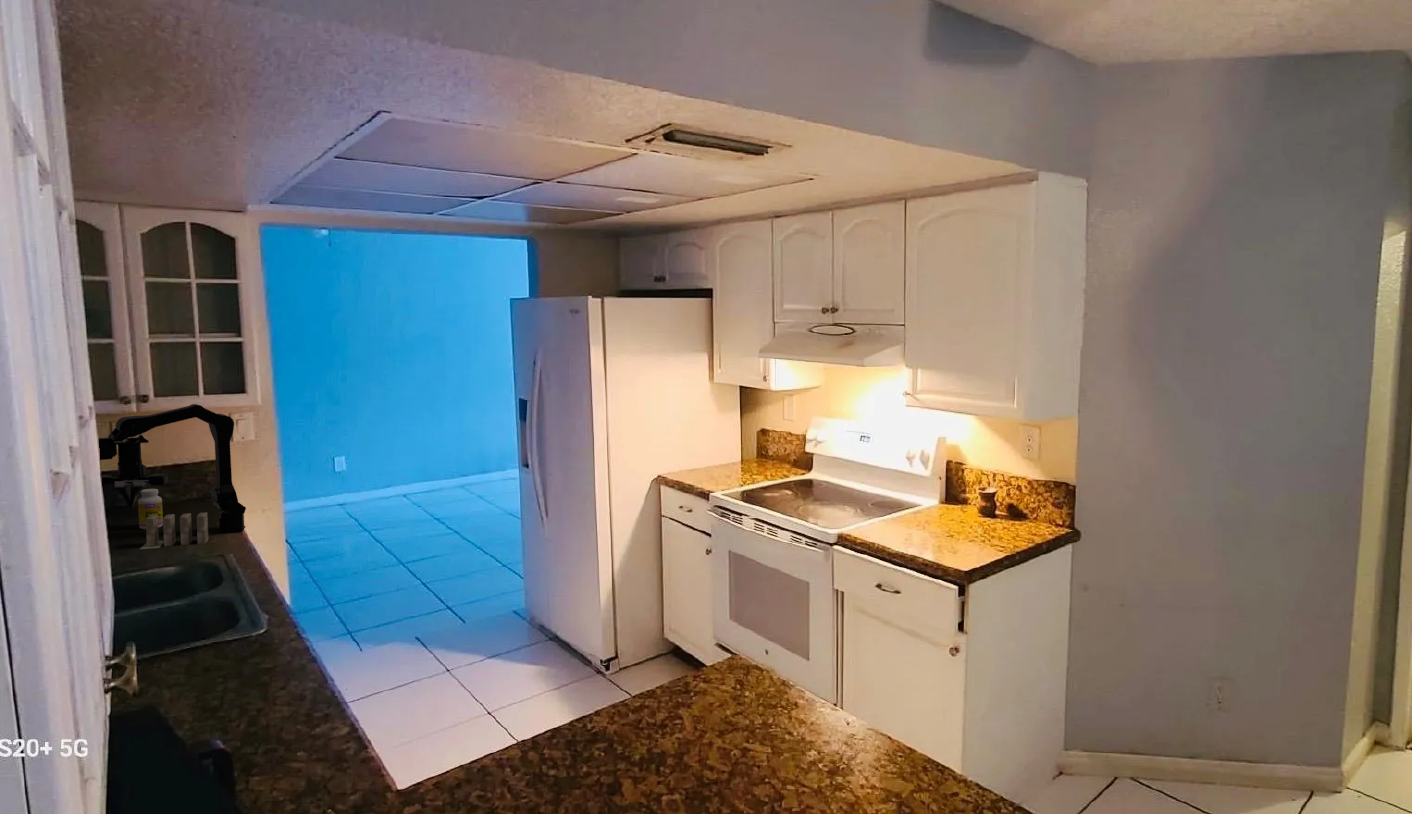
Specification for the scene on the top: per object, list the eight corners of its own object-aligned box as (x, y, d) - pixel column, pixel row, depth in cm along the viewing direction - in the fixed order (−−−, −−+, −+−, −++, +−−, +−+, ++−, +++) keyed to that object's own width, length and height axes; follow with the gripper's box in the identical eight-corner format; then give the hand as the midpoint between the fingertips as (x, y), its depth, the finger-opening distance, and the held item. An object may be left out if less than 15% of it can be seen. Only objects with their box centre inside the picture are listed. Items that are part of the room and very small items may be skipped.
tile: (158, 542, 249) (157, 514, 248) (154, 546, 245) (153, 518, 244) (151, 542, 249) (150, 515, 248) (147, 547, 244) (145, 518, 243)
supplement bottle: (143, 530, 262) (141, 493, 260) (136, 527, 266) (134, 490, 264) (166, 527, 267) (164, 490, 266) (159, 523, 271) (157, 487, 270)
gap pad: (165, 541, 251) (165, 540, 251) (159, 547, 244) (159, 547, 244) (147, 542, 249) (147, 541, 249) (139, 549, 242) (139, 548, 242)
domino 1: (175, 541, 251) (174, 514, 250) (171, 545, 246) (170, 518, 245) (168, 542, 250) (166, 514, 249) (164, 546, 246) (162, 518, 245)
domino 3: (208, 539, 254) (207, 512, 253) (205, 543, 250) (204, 516, 249) (201, 539, 254) (200, 512, 253) (197, 544, 249) (196, 516, 248)
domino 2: (192, 540, 253) (190, 513, 252) (188, 544, 248) (187, 517, 247) (184, 540, 252) (183, 513, 251) (181, 545, 247) (179, 517, 246)
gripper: (171, 453, 253) (173, 500, 254) (101, 454, 245) (102, 503, 247) (163, 458, 242) (164, 508, 244) (89, 460, 235) (91, 511, 237)
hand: (131, 507), depth 243 cm, fingers closed
